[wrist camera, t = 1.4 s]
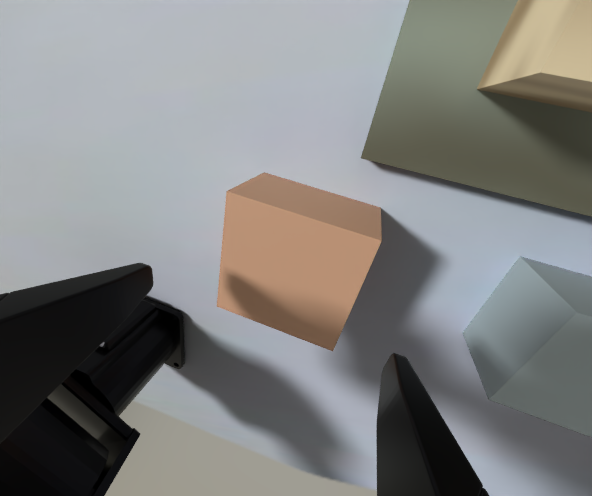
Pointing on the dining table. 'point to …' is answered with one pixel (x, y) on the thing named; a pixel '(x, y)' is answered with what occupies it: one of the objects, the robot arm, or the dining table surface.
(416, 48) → the build board
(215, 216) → the dining table surface
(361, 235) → the terracotta brick
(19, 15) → the dining table surface
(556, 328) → the gray brick
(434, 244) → the dining table surface
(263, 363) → the dining table surface
